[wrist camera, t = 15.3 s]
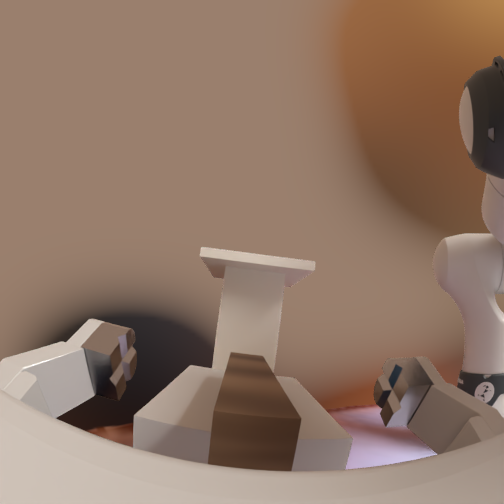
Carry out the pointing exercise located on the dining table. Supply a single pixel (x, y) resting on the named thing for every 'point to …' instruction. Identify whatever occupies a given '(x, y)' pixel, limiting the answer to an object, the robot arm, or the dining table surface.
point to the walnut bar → (253, 418)
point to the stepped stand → (209, 380)
